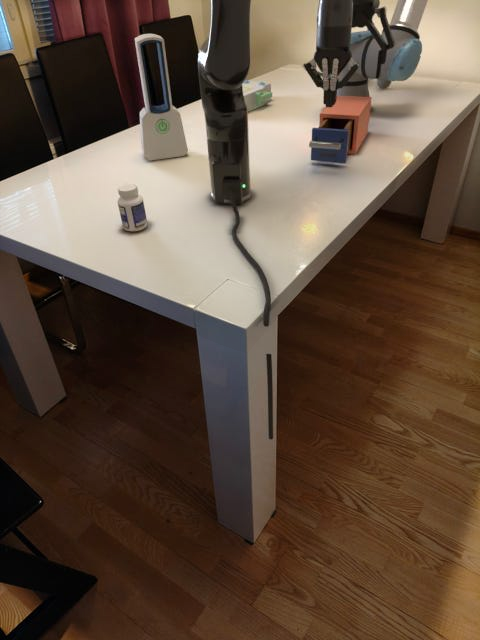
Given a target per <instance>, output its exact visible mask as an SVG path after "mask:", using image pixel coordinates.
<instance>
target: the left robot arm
mask: <svg viewBox="0 0 480 640" xmlns="http://www.w3.org/2000/svg"><path fill="white" fill-rule="evenodd" d="M210 2H211V18H210V19H211V20H210V31H209V37H207V38H206V39H205V40H204V41H203V42H202V43H201V45H200V47H199V50H198V54H197V72H198V81H199V92H200V99H201V107H202V110H203V113H204V122H205V132H206V144H207V155H208V166H209V167H208V168H209V179H210V189H211V192H210V195H211V200H212V201H214V203H215V204H216V205H231V207H232V210H233V212H234V215H235V222H234V223H235V224H234V225H233V227H232V229H231V235H232V238H233V241H234V242H235V244H236V245H237V246H238V248H239V249H240V251H241V252H242V253H243V256H245V258H246V259H247V260H248V261H249V262H250V264H251V265H253V267H254V269H256V271H257V273H258V274H259V277H260V279H261V281H262V285H263V289H264V294H265V295H264V296H265V304H264V308H263V317H262V318H263V320H262V321H263V326H264V327H269V325H270V308H271V304H272V297H271V290H270V285H269V282H268V278H267V277H266V275H265V273H264V271H263V269H262V268H261V265H260V264H259V263H258V262H257V261H256V260H255V259H254V257H253V256H252V255H251V254H250V253H249V251H248V250H247V248H246V247H245V246H244V244H243V243H242V242H241V241H240V239H239V237H238V235H237V229H238V227H239V225H240V222H241V220H240V219H241V217H240V212H239V210H238V207H237V205H242V204H243V202H246V201H248V200H250V198H251V196H252V189H251V165H250V162H251V161H250V138H249V135H250V134H249V112H248V109H247V105H246V102H245V99H244V95H243V88H242V84H243V83H244V81H245V80H247V78H248V76H249V72H250V68H251V25H250V24H251V21H250V20H251V5H252V4H251V3H252V0H210ZM352 17H353V0H318V7H317V16H316V41H315V43H316V44H315V51H314V54H313V57H312V59H311V60H309V61H308V62H306V63H305V66H304V65H303V66H304V69H305V71H306V72H307V74H308V75H309V77H310V78H311V80H312V81H313V83H314V85H315V86H316V87H317V88H320V89H322V90H323V99H322V100H323V101H322V103H323V105H325V107H333V105H334V104H335V103H336V99H337V89H339V88H342V87H343V86H344V85H345V84H346V83H347V82H348V80H349V79H350V78H351V77H352V76H353V74H354V73H355V72H356V71H357V69H358V68H359V67H360V64H359V63H358V62H357V63H356V62H355V61H354V60H353V59H352V54H351V51H350V42H351V33H352V29H353V28H352ZM348 63H349V66H348V71H349V72H348V73H347V74H346V75H345V77H344V78H343V79H342V80H341V81H340V82H338V81H339V76H340V72H342V70H343V69H344V68H345V66H346V65H347V64H348ZM317 67H318V70H320V71H318V70H317ZM317 71H318V72H320V73H323V76H322V75H320V74H319V73H318V72H317ZM331 74H332V75H331ZM265 357H266V358H265V359H266V380H267V381H266V383H267V424H268V425H267V426H268V440H270V441H271V440H273V439H274V390H273V389H274V388H273V387H274V386H273V385H274V384H273V361H272V360H273V358H272V354H271V353H266V354H265Z"/></svg>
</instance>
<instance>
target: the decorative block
mask: <svg viewBox="0 0 480 640" xmlns="http://www.w3.org/2000/svg"><path fill="white" fill-rule="evenodd" d="M242 88H243V95H244V99H245V102H246V105H247V109H248V113H249V112H251V111H253V110H256V109H258V108H261V107H263V106H265V105H267V102H270V101H271V100H272V97H273V92H272V83H271V82H270V83H269V82H264V81H251V80H247V79H246V80H245V81H244V83H243V84H242Z"/></svg>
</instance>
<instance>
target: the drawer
mask: <svg viewBox="0 0 480 640" xmlns="http://www.w3.org/2000/svg"><path fill="white" fill-rule="evenodd" d="M354 122H355V120H354V119H337V118H326V119H325V120H324V121H323V122H322V124H321V125H320V126H319V125H318V127H312V128H311V140H309V142H308V147H309V148H310V161H312V162H313V161H314V162H315V161H316V162H323V163H325V162H326V163H337V164H347V159H348V154H347V153H348V151H349V149H350V148H351V146H352V143H353V133H354Z"/></svg>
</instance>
